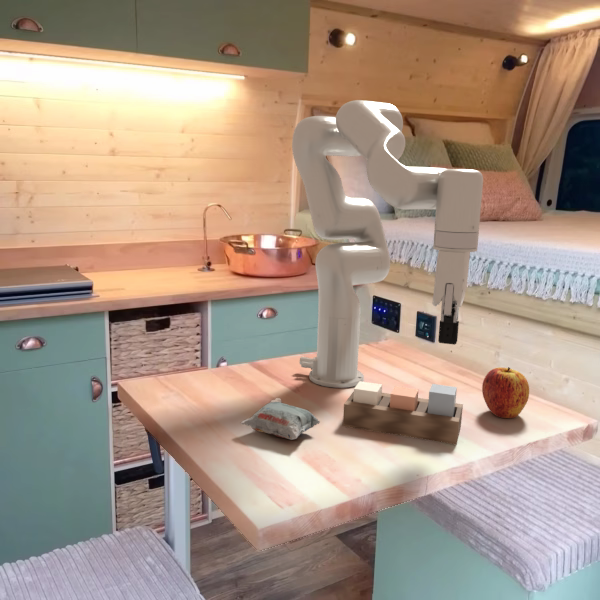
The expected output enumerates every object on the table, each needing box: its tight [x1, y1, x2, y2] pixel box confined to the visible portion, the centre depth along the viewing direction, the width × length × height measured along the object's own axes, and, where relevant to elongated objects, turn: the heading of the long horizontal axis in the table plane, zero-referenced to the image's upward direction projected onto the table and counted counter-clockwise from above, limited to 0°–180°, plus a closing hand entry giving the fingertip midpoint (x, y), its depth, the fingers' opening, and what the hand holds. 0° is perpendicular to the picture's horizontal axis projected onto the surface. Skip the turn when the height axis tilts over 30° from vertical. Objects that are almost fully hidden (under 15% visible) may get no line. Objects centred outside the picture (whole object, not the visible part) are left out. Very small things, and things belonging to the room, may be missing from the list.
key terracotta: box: [390, 385, 419, 411], centre depth 116 cm, size 4×4×5 cm
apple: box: [481, 367, 530, 419], centre depth 123 cm, size 9×9×10 cm
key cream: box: [353, 381, 383, 406], centre depth 118 cm, size 4×4×5 cm
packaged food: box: [240, 401, 321, 441], centre depth 111 cm, size 9×12×5 cm
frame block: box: [342, 390, 464, 446], centre depth 117 cm, size 21×9×4 cm, turn 71°
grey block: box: [428, 383, 458, 417], centre depth 114 cm, size 4×4×5 cm
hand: (447, 342), depth 111 cm, fingers closed
